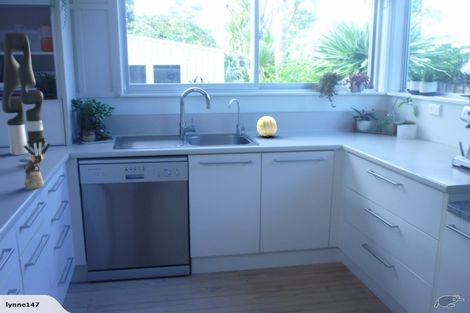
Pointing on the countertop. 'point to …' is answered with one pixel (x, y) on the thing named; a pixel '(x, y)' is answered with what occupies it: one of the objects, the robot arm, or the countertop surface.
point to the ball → (34, 157)
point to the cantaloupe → (266, 126)
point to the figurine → (33, 175)
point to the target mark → (27, 159)
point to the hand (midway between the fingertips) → (38, 162)
